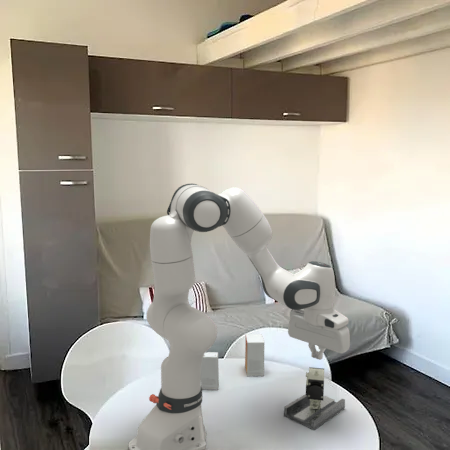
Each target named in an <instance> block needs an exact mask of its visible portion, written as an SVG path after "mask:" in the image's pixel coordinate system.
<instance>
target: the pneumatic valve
mask: <svg viewBox="0 0 450 450" xmlns="http://www.w3.org/2000/svg"><path fill="white" fill-rule="evenodd" d="M305 378H306V380H305V381H306V382H305V394H306V396H308V399H310V407H309V408H310V409H312V408H313V409H318V410H320V409H321V400H322V401H323V397H324V396H325V395H324V388H325V368H323V367H322V368H319V367H310V366H309V368H308V372H307V371H306V373H305Z"/></svg>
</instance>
